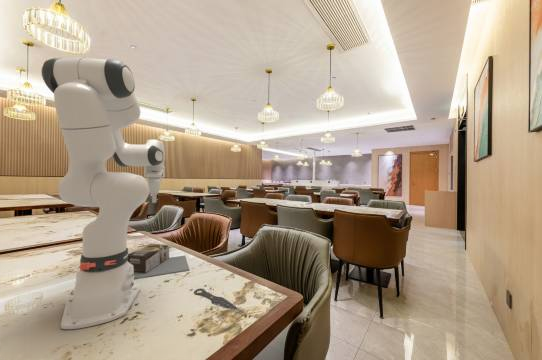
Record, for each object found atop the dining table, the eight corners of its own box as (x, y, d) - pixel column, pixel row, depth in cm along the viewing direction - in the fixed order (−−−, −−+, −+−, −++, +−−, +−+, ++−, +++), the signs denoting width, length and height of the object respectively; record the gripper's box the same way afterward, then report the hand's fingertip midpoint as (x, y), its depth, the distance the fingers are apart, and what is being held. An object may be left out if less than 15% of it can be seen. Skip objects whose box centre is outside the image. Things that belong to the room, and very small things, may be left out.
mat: (189, 270, 91) (189, 269, 91) (131, 279, 82) (131, 278, 82) (185, 256, 106) (185, 255, 106) (135, 262, 97) (135, 262, 97)
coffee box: (169, 244, 103) (146, 256, 87) (169, 258, 103) (146, 273, 87) (150, 242, 104) (124, 255, 88) (150, 256, 104) (124, 271, 88)
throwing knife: (201, 288, 78) (201, 286, 78) (246, 309, 67) (246, 307, 67) (190, 294, 74) (190, 292, 74) (236, 316, 63) (236, 314, 63)
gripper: (148, 173, 117) (147, 200, 118) (146, 173, 99) (145, 205, 99) (161, 174, 120) (161, 200, 120) (162, 174, 102) (161, 204, 102)
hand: (154, 202), depth 110 cm, fingers closed
